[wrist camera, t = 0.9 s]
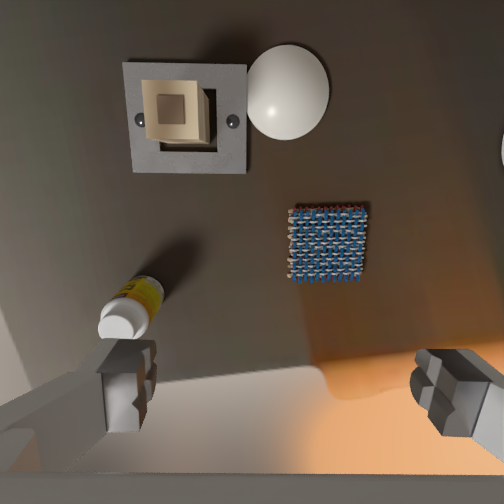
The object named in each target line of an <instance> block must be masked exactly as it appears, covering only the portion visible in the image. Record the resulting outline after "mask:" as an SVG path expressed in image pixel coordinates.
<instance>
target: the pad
mask: <svg viewBox="0 0 504 504" xmlns="http://www.w3.org/2000/svg"><path fill="white" fill-rule="evenodd" d="M328 98H329V84H328V79H327V75H326V72H325V70H324V68H323V66H322V64H321V63H320V62H319V60H318V59H317V58H316V57H315V56H314V55H313V54H312V53H310V52H309V51H307V50H306V49H304V48H301V47H298V46H294V45H281V46H277V47H274V48H271V49H269V50H267V51H266V52H264V53H263V54H262V55H260V56H259V57H258V58H257V59H256V61H255V62H254V63H253V65H252V66H251V68H250V70H249V72H248V74H247V114H248V116H249V118H250V120H251V122H252V123H253V124H254V126H255V127H256V128H257V129H258V130H259V131H260V132H262V133H263V134H265V135H267V136H269V137H271V138H274V139H278V140H291V139H295V138H298V137H301V136H303V135H305V134H306V133H308V132H309V131H311V130H312V129H313V128H314V127H315V126H316V125H317V124H318V122H319V121H320V119H321V118H322V116H323V114H324V112H325V110H326V107H327V103H328Z"/></svg>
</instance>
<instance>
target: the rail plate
mask: <svg viewBox="0 0 504 504" xmlns="http://www.w3.org/2000/svg"><path fill="white" fill-rule="evenodd" d="M122 64H123V74H124V84H125V95H126V105H127V115H128V125H129V135H130V145H131V156H132V166H133V172H140V173H220V174H246V114H247V65H244V64H191V63H138V62H122ZM141 80H185V81H197V82H198V83H199V85H200V86H201V88H202V90H216V98H217V149H218V152H162V148H161V142H160V141H155V140H151V139H146V130H145V118H144V106H143V94H142V82H141Z"/></svg>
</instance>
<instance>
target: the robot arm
mask: <svg viewBox="0 0 504 504" xmlns="http://www.w3.org/2000/svg"><path fill="white" fill-rule="evenodd" d="M502 160H503V165H504V136H503V141H502ZM156 353H157V352H156V343H155V341H154V340H139V339H120V338H103V339H101V340H100V341H99V342H98V343H97V344H96V346H95V347H94V348H93V349H92V351H91V352H90V353H89V354H88V356H87V357H86V358H85V359H84V361H83V362H82V363H81V364H80V366H79V367H78V368H77V369H76V371H75V372H68V373H66V374H64V375H62V376H60V377H58V378H56V379H54V380H52V381H50V382H48V383H46V384H44V385H42V386H40V387H38V388H36V389H34V390H32V391H30V392H28V393H26V394H24V395H22V396H20V397H18V398H16V399H14V400H12V401H10V402H8V403H6V404H4V405H2V406H0V504H504V475H401V474H396V475H395V474H243V473H232V474H231V473H114V472H112V473H111V472H108V473H107V472H65V471H66V470H67V469H68V468H69V467H70V466H72V465H73V464H74V463H75V462H76V461H77V460H78V459H79V458H80V457H81V456H83V455H84V454H85V453H86V452H87V451H88V450H89V449H90V448H91V447H92V446H94V445H95V444H96V443H97V442H98V441H99V440H100V439H101V438H102V437H104V436H105V435H106V432H139V431H140V429H141V426H142V424H143V421H144V419H145V416H146V413H147V403H148V402H149V401H150V400H152V397H153V394H154V391H155V386H156V381H157V365H156V364H155V363H154V362H153V360H154V358H155V356H156ZM415 362H416V364H417V366H418V367H417V368H416V369H415V370H414V371H413V372H412V373H411V378H410V388H411V392H412V395H413V397H414V399H415V400H416V402H417V403H418V405H420V406H421V407H423V408H424V409H426V410H428V418H429V419H430V421H431V422H432V423H433V425H434V426H435V427H436V429H437V430H438V431H439V433H440V434H441V435H442V436H451V437H472V439H473V440H474V441H475V442H477V443H478V444H479V445H481V446H482V447H483V448H485V449H486V450H487V451H489V452H490V453H491V454H493V455H494V456H495V457H497V458H498V459H499V460H501V461H502V462H503V463H504V375H502V374H501V373H500V372H499V371H497V370H496V369H495V368H494V367H492V366H491V365H490V364H489V363H487V362H486V361H485V360H484V359H482V358H481V357H480V356H479V355H477V354H476V353H475V352H474V351H472V350H469V349H419V350H418V352H417V353H416V356H415Z"/></svg>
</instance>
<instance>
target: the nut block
mask: <svg viewBox="0 0 504 504" xmlns="http://www.w3.org/2000/svg"><path fill="white" fill-rule="evenodd" d="M141 82H142V94H143V106H144V118H145V130H146V139H151V140H155V141H160V142H165V143H181V144H210V126H209V99H208V97H207V96H206V94H205V93H204V91H203V90H202V88H201V86H200V85H199V83H198V82H197V81H185V80H141Z"/></svg>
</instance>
